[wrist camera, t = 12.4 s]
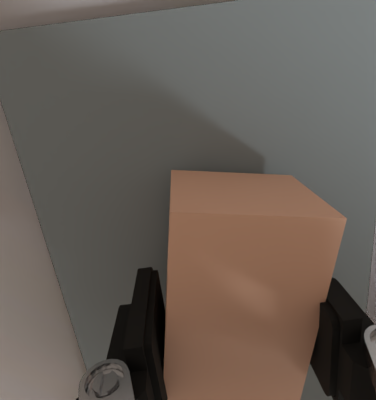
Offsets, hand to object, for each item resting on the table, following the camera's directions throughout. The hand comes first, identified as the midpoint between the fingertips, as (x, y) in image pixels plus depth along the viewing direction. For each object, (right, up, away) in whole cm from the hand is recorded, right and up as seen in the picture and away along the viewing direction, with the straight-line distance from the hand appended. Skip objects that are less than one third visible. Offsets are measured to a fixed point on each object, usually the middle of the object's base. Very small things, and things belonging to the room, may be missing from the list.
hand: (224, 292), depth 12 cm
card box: (0, 0, +1) cm, 1 cm away
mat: (0, +1, +2) cm, 2 cm away
